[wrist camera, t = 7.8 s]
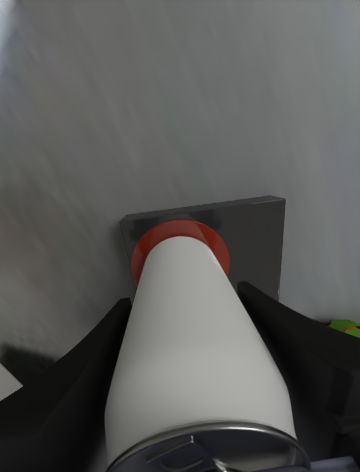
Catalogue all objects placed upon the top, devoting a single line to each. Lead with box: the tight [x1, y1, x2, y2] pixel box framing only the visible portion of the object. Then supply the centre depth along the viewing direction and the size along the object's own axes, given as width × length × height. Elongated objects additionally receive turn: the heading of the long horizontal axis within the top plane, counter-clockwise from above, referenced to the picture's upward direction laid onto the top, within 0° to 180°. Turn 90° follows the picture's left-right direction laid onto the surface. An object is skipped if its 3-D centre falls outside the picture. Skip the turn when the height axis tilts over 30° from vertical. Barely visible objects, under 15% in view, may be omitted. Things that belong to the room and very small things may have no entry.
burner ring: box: [131, 219, 230, 288], centre depth 16 cm, size 9×9×1 cm
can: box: [105, 236, 311, 472], centre depth 10 cm, size 6×6×12 cm
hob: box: [120, 196, 286, 302], centre depth 19 cm, size 19×15×3 cm
